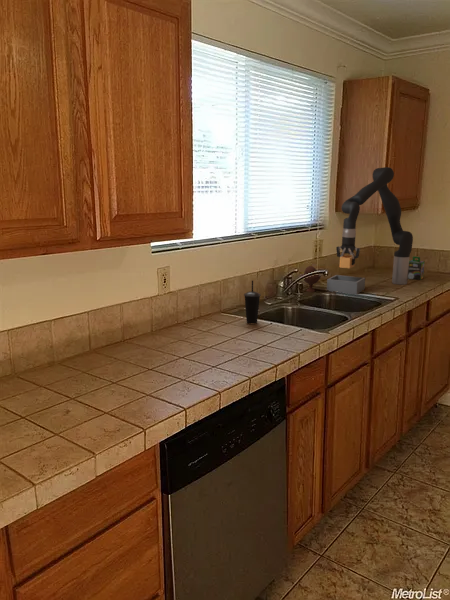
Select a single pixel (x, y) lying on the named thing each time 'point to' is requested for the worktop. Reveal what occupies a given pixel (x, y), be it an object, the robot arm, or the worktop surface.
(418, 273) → the chalk box
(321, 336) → the worktop surface
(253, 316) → the drinking cup
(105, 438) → the worktop surface
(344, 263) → the orange crate
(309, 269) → the ice cream bowl
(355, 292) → the charcoal crate
